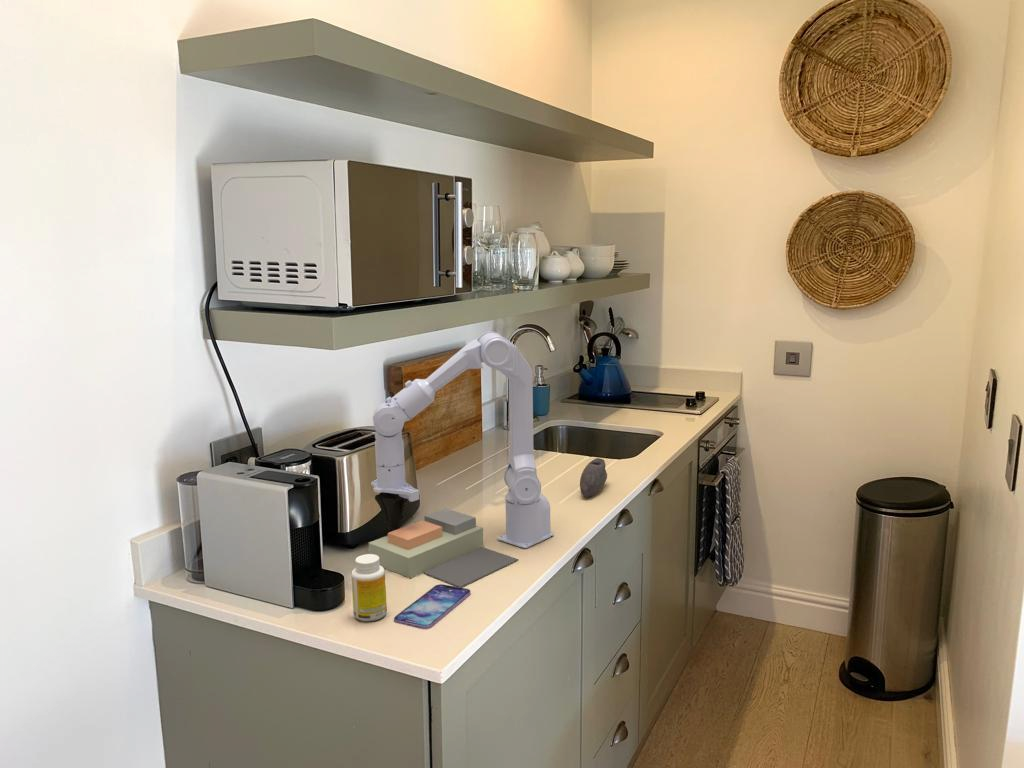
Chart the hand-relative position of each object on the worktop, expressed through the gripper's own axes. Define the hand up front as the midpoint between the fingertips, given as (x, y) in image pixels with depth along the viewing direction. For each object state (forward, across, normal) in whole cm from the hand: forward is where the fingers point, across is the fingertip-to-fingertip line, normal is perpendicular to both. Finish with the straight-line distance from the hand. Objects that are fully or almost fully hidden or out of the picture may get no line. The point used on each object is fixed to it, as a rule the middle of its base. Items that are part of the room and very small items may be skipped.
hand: (393, 527), depth 162 cm
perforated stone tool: (+5, +9, +55) cm, 56 cm away
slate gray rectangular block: (+1, +7, +10) cm, 12 cm away
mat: (+5, +18, +4) cm, 19 cm away
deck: (+5, +7, +3) cm, 9 cm away
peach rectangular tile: (+1, +7, 0) cm, 7 cm away
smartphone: (+6, +25, -12) cm, 28 cm away
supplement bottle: (+5, +19, -21) cm, 29 cm away
